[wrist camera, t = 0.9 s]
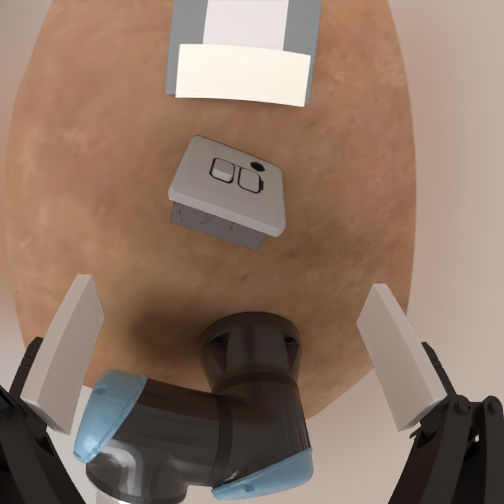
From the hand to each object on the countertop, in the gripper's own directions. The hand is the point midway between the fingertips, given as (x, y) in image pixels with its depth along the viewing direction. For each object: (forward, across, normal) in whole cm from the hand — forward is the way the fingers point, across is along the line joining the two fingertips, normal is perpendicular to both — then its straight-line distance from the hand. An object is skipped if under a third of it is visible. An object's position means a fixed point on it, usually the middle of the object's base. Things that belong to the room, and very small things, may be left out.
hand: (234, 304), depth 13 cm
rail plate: (+19, 0, -19) cm, 27 cm away
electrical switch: (+19, 0, 0) cm, 19 cm away
